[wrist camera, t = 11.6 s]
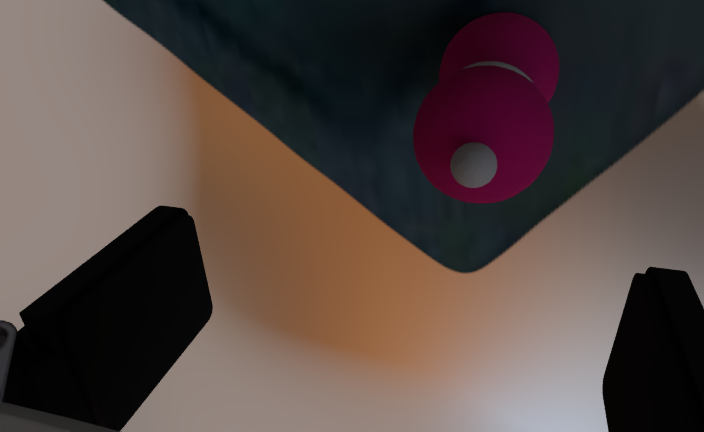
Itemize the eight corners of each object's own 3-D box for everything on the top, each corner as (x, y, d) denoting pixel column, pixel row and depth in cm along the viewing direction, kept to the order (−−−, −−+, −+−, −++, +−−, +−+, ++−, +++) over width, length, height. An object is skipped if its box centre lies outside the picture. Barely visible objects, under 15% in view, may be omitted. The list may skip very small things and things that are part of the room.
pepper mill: (529, 123, 37) (525, 281, 20) (436, 91, 38) (358, 218, 21) (576, 22, 33) (617, 117, 16) (470, -10, 34) (408, 49, 17)
